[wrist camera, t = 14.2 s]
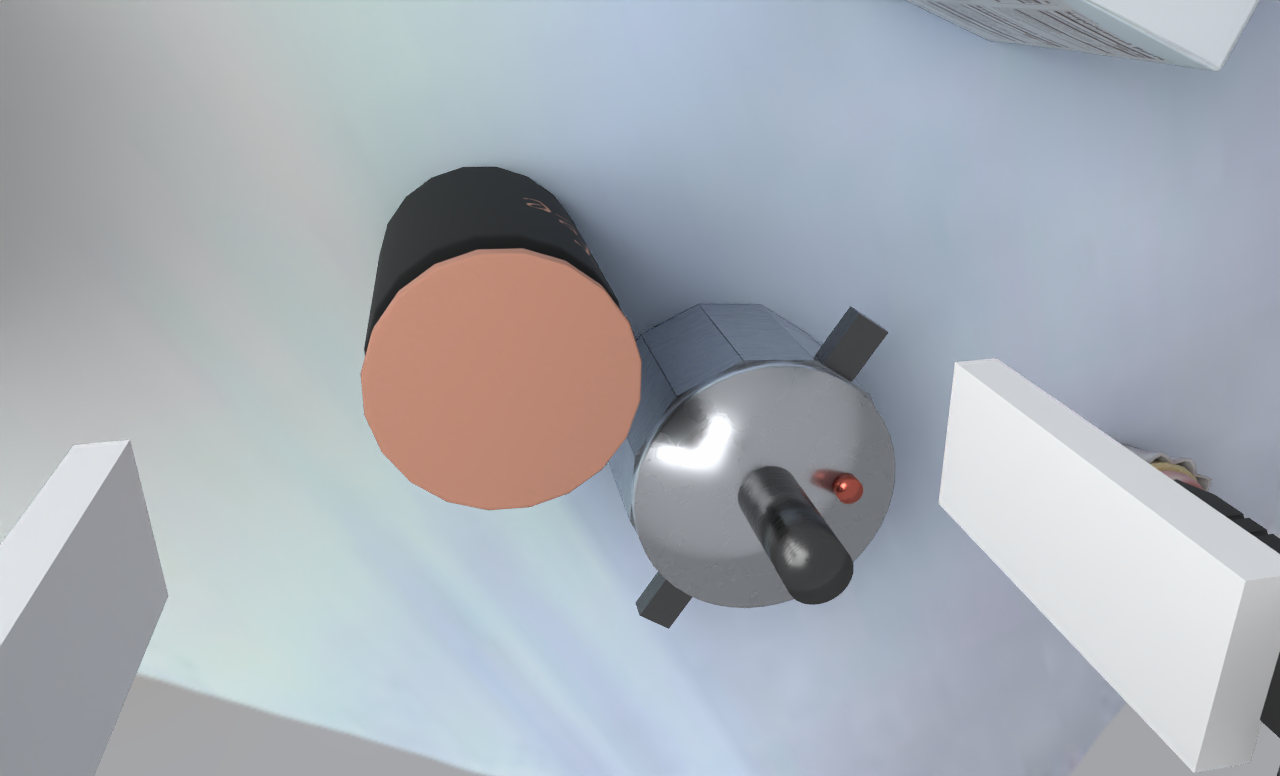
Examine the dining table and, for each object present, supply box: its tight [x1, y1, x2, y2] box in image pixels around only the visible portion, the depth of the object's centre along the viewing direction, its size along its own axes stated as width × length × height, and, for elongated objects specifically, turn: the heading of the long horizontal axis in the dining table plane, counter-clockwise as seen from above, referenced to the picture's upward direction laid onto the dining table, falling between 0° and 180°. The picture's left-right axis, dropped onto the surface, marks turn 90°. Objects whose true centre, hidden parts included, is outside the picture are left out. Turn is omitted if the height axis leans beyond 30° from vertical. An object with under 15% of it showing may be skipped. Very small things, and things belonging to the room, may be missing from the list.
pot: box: [608, 304, 888, 628], centre depth 56 cm, size 20×14×9 cm
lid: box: [631, 360, 895, 608], centre depth 49 cm, size 14×14×10 cm
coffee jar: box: [361, 167, 642, 510], centre depth 46 cm, size 11×11×18 cm
